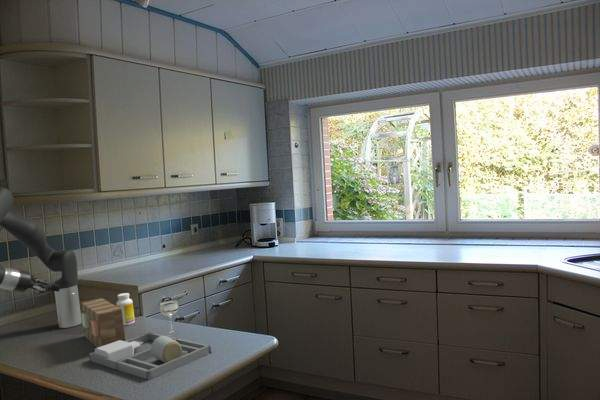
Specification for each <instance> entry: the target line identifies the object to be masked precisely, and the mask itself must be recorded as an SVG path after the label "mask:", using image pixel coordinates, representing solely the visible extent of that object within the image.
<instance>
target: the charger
mask: <svg viewBox="0 0 600 400" xmlns="http://www.w3.org/2000/svg"><path fill="white" fill-rule="evenodd" d="M126 341H127V340H125V341H121V340H119V341H116V342H113V343H110V344H107V345H104V346H101V347H98V348H97V347H96V348H94V352H95V354H98V355H101V356H104V357H108V358H111V359H114V360H117V361H119V360H122V359H124V358H127V357H130V356H132V355H135V350H137V349H139V348H141V345H143V343H144V342H141V343H140V342H136V341H132V342H130V343H129V342H126Z"/></svg>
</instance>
